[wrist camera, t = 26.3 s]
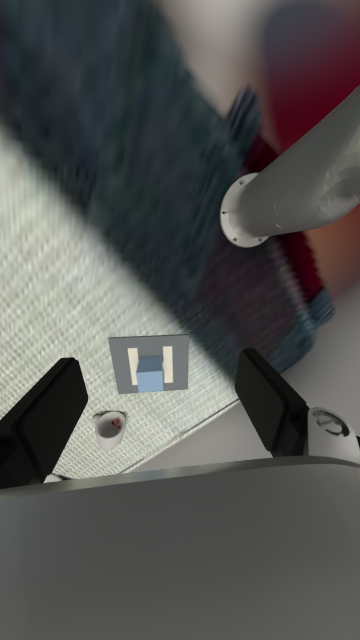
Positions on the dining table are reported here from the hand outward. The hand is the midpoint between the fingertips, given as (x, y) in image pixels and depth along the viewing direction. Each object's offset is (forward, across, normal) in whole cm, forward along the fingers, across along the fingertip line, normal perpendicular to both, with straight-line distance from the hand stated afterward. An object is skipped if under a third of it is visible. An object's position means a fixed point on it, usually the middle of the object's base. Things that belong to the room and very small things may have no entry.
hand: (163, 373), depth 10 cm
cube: (+30, +4, +22) cm, 37 cm away
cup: (+28, +19, +46) cm, 57 cm away
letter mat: (+30, +4, +22) cm, 38 cm away
